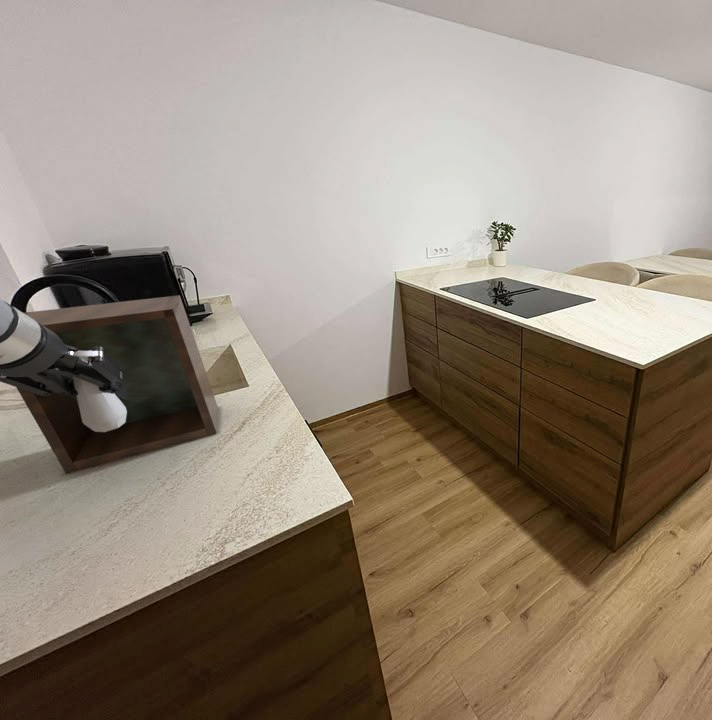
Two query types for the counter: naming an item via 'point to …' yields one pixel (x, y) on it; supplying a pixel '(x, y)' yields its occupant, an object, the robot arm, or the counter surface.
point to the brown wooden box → (129, 381)
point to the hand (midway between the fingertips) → (110, 396)
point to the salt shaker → (99, 407)
